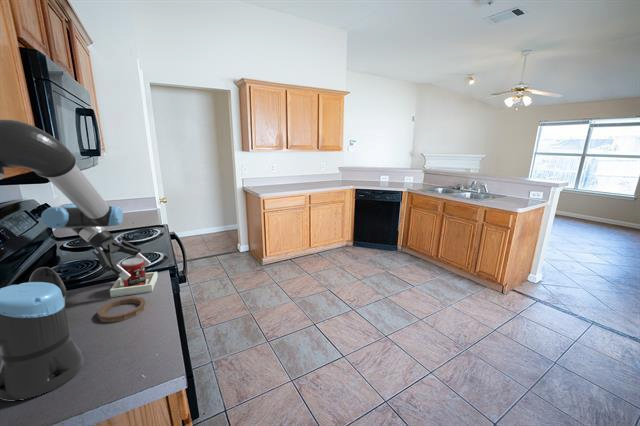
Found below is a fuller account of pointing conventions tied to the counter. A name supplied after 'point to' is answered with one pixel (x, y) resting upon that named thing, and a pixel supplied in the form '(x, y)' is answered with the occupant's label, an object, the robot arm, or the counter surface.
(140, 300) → the collar ring
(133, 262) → the canned food
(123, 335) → the counter surface
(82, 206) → the robot arm
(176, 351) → the counter surface
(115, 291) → the tray
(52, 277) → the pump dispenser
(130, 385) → the counter surface
